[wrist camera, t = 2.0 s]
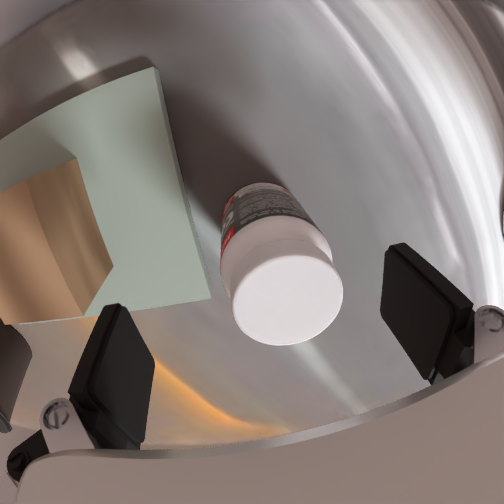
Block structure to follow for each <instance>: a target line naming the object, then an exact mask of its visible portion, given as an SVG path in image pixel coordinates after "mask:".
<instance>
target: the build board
mask: <svg viewBox="0 0 504 504" xmlns="http://www.w3.org/2000/svg"><path fill="white" fill-rule="evenodd" d="M76 158H77V160H78V163H79V167H80V171H81V174H82V178H83V181H84V184H85V188H86V191H87V194H88V197H89V200H90V203H91V206H92V209H93V212H94V215H95V218H96V221H97V224H98V227H99V229H100V232H101V235H102V238H103V240H104V243H105V245H106V248H107V251H108V253H109V256H110V258H111V261H112V263H113V265H114V267H113V268H112V270H111V271H110V273H109V275H108V276H107V278H106V279H105V281H104V283H103V284H102V286H101V287H100V289H99V291H98V292H97V294H96V296H95V297H94V299H93V301H92V302H91V304H90V306H89V308H88V309H87V311H86V313H85V314H84V316H81V317H73V318H65V319H56V320H48V321H39V322H29V323H19V325H20V324H30V323H40V322H49V321H58V320H67V319H75V318H83V317H91V316H99V315H100V313H101V311H102V309H103V307H104V306H105V305H110V304H115V303H120V304H121V305H122V306H125V307H126V308H127V309H128V311H135V310H142V309H148V308H155V307H161V306H168V305H174V304H180V303H186V302H192V301H198V300H204V299H210V298H212V285H211V282H210V279H209V275H208V272H207V268H206V265H205V261H204V258H203V254H202V251H201V247H200V244H199V240H198V236H197V233H196V229H195V225H194V222H193V218H192V214H191V210H190V206H189V203H188V199H187V195H186V191H185V187H184V183H183V179H182V175H181V171H180V166H179V162H178V158H177V154H176V150H175V145H174V141H173V136H172V132H171V127H170V123H169V118H168V114H167V109H166V104H165V99H164V94H163V89H162V84H161V79H160V74H159V70H158V69H156V68H155V67H150V68H147V69H144V70H141V71H138V72H135V73H132V74H129V75H127V76H124V77H121V78H118V79H116V80H113V81H111V82H108V83H106V84H103V85H101V86H98V87H96V88H94V89H91V90H89V91H87V92H85V93H82V94H80V95H78V96H76V97H74V98H72V99H70V100H68V101H66V102H64V103H62V104H60V105H58V106H56V107H54V108H52V109H50V110H48V111H46V112H45V113H43V114H41V115H39V116H37V117H36V118H34V119H32V120H31V121H29V122H27V123H26V124H24V125H22V126H21V127H19V128H18V129H16V130H14V131H13V132H11V133H10V134H8V135H7V136H5V137H4V138H2V139H1V140H0V193H2V192H3V191H5V190H7V189H9V188H11V187H13V186H14V185H16V184H18V183H20V182H22V181H24V180H26V179H28V178H30V177H32V176H35V175H37V174H39V173H41V172H44V171H46V170H48V169H51V168H53V167H56V166H58V165H61V164H63V163H66V162H68V161H71V160H73V159H76Z"/></svg>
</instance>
